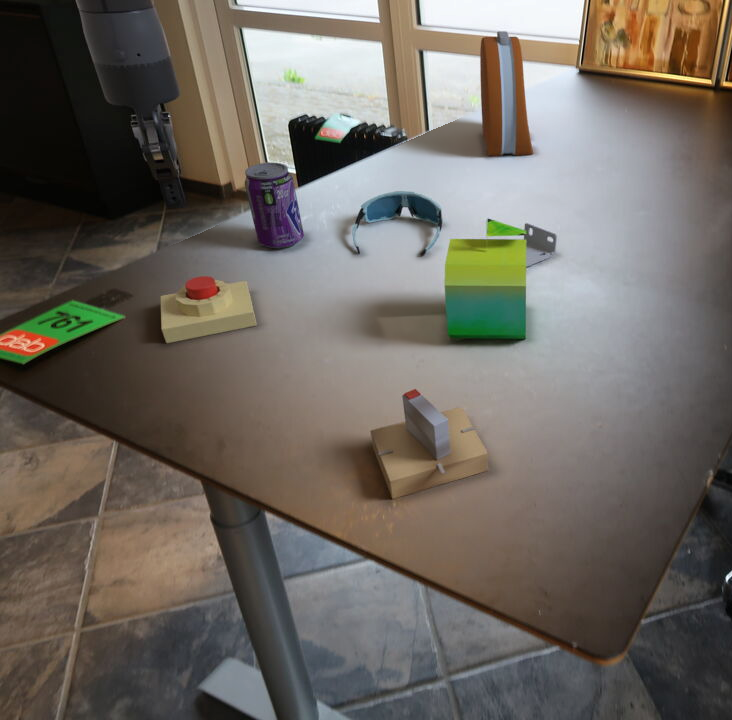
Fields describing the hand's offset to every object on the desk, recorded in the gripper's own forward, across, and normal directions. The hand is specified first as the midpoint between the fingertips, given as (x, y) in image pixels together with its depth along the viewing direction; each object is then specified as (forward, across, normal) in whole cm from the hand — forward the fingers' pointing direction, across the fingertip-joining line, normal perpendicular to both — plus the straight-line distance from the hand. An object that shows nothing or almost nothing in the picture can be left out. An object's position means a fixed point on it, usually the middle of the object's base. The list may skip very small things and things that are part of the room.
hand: (176, 205), depth 85 cm
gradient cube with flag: (+16, -16, -34) cm, 41 cm away
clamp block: (+16, -38, -19) cm, 45 cm away
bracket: (+16, 0, -46) cm, 49 cm away
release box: (+16, 0, 0) cm, 16 cm away
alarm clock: (+16, +51, -64) cm, 83 cm away
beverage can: (+16, +20, -12) cm, 28 cm away
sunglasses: (+16, +15, -30) cm, 37 cm away
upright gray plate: (+13, -38, -19) cm, 45 cm away
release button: (+12, 0, 0) cm, 12 cm away
